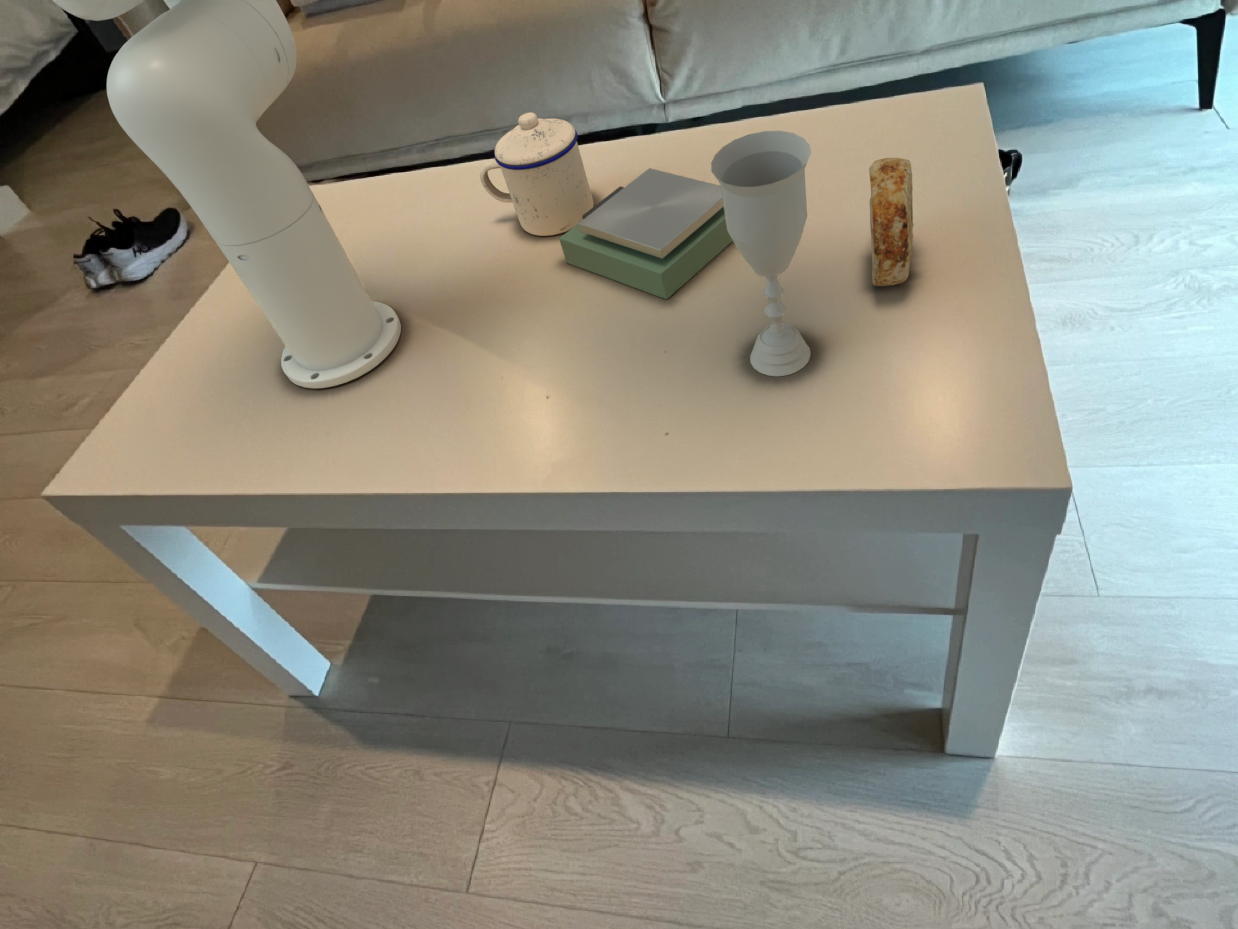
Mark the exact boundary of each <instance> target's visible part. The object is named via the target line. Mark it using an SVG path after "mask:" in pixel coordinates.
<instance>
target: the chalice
mask: <svg viewBox="0 0 1238 929" xmlns="http://www.w3.org/2000/svg"><path fill="white" fill-rule="evenodd" d="M811 154H812V150H811V145H810V143H809V142H808V141H807V140H806V139H805V137H803V136H800V135H798V134H797V133H794V132H790V131H783V130H763V131H758V132H753V133H749V134H747V135H743V136H741V137H738V138H736V139H734V140H731V141H730V142H729V143H727V144H725V145H723V146H722V147H721V148H720V149H719V150H718V151H717V152H716V153H715V154H714V157H713V158H712V160H711V162H710V168H711V170H710V171H711V173H712V175H713V176H714V177H715V178H716V180H717V181H718V183H719V185H720V186H721V191H722V198H723V205H724V212H725V219H726V226H727V231H728V233H729V234H730V236H731V238H732V240H733V241H732V242H733V243H734V245H735V247H736V249H737V250H738V252H739V254H740V255H741V257H742V258H743V259H744V261H745V262H746V263H747V265H749V267H750V268H751V269H752V270H753V272H754V274H756V275H758V276H759V277H763V278H766V285H765V288H764V289H763V295H764V296H765V297H766V298H767V301H768V305H767V306H766V307H765V309H764V314H765V316H767V317H769V319H770V325H768V326H766V327H764V328H763V330H762V331H761V332H760V333H759V334H758V335H757V337H756V340H755V343H754V344H753V348H752V350H751V353H750V355H749V360H750V364H751V366H752V368H753V369H754V370H755V371H757V372H758V373H760V374H763V375H766V376H769V377H783V376H790V375H792V374H794V373H797V372H798V371H800V370H802V369H804V368H805V366H807V364H808V363H809V362H810V359H811V355H812V354H811V348H810V347H809V345H808V344H807V342H806V340H805V339H804V338H803V336H802V334H801V333H800V331H799V330H798V329H797V328H795V327H793V326H792V325H790V324H787V323H783V316H784V315H785V313H786V312H787V310H788V309H787V307H786V305H785V304H784V303H783V302H782V301H781V297H782V295H783V294H784V291H785V289H784V287H783V286H782V285H781V283H780V281H779V280H780V279H779V275H781V274H783V273H785V272H786V271H787V269H788V268H789V266H790V264H791V263H792V260H793V258H794V256H795V253H796V251H797V249H798V247H799V245H800V242H801V239H802V235H803V233H804V229H805V225H806V222H807V218H808V204H807V203H808V202H807V190H806V189H807V187H806V171H805V170H806V167H807V164H808V162H809V159H810V156H811Z"/></svg>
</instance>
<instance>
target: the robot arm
mask: <svg viewBox="0 0 1238 929" xmlns="http://www.w3.org/2000/svg"><path fill="white" fill-rule="evenodd" d="M145 1H146V0H52V2H54V3H55V4H56V5H57V6H58V7H60V8H61V9H62V10H63V11H64V12H65V11H66V12H67V13H69V14H71V15H72V16H74V17H76V18H80V19H82V20H86V21H87V20H88V21H96V22H100V21H106V20H111V19H113V18H114V19H115V18H117V17H119V16H122V15H124V14H127V12H129V11H131V10H132V9H134V8H136V7H137V6H139V5H141V4H142V3H144V2H145ZM163 2H164V3H165V5H166V6H167V7H168V9H169V10H165V11H164V12H163V13H161V14H160V15H159V16H157V17H156V18H154V19H153V20H151V22H149V23H148V24H147V25H145V26H144V27H142V28H141V29H140V30H139V31H138V32H136V33H135V34H133V35H132V36H131V37H130V38H129V39H128V40H127V41H126V42H125V43H124V44H123V45H122V46H121V48H119V50H118V52H117V53H116V54H115V56H114V57H113V59H112V61H111V64H110V66H109V68H108V71H107V76H106V95H107V99H108V104H109V106H110V110H111V112H112V115H113V116H114V118H115V119H116V122H118V125H119V126H120V127H121V128H122V130H123V131H124V132H125V134H126V135H127V136H128V137H129V138H130V139H131V140H132V141H133V143H134V144H135V145H136V147H138V148H139V149H140V150H141V151H142V153H144V154H145V155H146V157H147V158H149V159H150V160H151V162H152V163H154V165H156V166H157V168H159V170H160V171H161V172H162V173H163V174H164V175H165V176H166V178H168V180H169V181H170V182H171V183H172V184H173V186H174V187H175V188H176V189H177V190H178V192H179V193H180V194H181V195H182V197H183V198H184V200H185V201H186V202H187V204H188V205H189V206H190V208H191V209H192V211H193V212H194V213H195V214H196V216H197V217H198V219H199V220H200V222H201V223H202V225H203V227H204V228H205V229H206V231H208V234H209V235H210V237H211V238H212V240H213V241H214V242H215V243H216V245H217V246H218V248H219V249H220V250H221V252H222V254H223V256H224V257H225V259H226V260H227V261H228V262H229V264H230V266H231V267H232V268H233V269H232V270H234V272H235V273H236V274H237V276H238V278H239V279H240V280H241V282H242V283H243V285H244V286H245V288H246V289H247V291H248V292H249V294H250V295H251V297H252V298H253V300H254V301H255V303H256V304H257V306H258V307H259V309H260V310H261V312H262V314H264V316H265V317H266V319H267V321H268V323H269V324H270V325H271V327H272V328H273V329H274V331H275V332H276V334H277V335H278V337H279V338H280V340H281V341H282V343H283V344H284V346H285V347H284V348H283V351H282V353H281V357H280V366H281V369H282V371H283V374H284V375H286V377H287V378H288V379H289V381H290V382H291V383H293V384H294V385H296V386H299V387H301V388H307V389H326V388H333V387H336V386H337V387H338V386H340V385H343V384H346V383H348V382H351V381H353V380H356V379H358V378H360V377H361V376H363V375H365V374H367V373H369V372H371V371H372V370H373V369H375V368H376V367H377V366H379V365H380V364H381V363H382V362H383V361H384V360H385V359H386V358H387V357H388V356H389V355H390V354H391V353H392V352H393V350H394V348H395V347H396V345H397V344H398V341H399V340H400V336H401V334H402V333H401V332H402V324H401V321H400V318H399V317H398V315H397V313H396V311H395V310H394V309H393V308H392V307H391V306H389V305H387V304H386V303H384V302H380V301H376V300H372V298H371V297H370V296H369V293H368V291H367V289H366V288H365V286H364V284H363V282H362V280H361V278H360V277H359V275H358V273H357V271H356V270H355V267H354V265H353V264H352V262H351V260H350V259H349V256H348V254H347V252H346V251H345V249H344V247H343V245H342V243H341V242H340V240H339V238H338V237H337V236H338V235H337V234H336V233H335V230H334V229H333V227H332V225H331V223H330V222H329V219H328V218H327V216H326V214H325V212H324V210H323V208H322V207H321V205H320V203H319V202H318V199H317V198H316V196H315V195H314V192H313V191H312V189H311V187H310V185H309V184H308V181H307V180H306V178H305V176H304V175H303V173H302V172H301V170H300V169H299V168H298V166H297V164H296V163H295V162H294V161H293V160H292V159H291V158H290V157H289V156H288V155H287V154H286V153H285V152H284V151H282V150H281V149H280V148H279V147H278V146H276V145H275V144H273V143H272V142H271V141H270V140H269V139H268V138H267V137H265V136H264V135H263V133H261V131H260V130H259V129H258V127H257V122H258V120H259V119H261V117H262V116H263V114H264V113H265V112H266V111H267V110H268V108H270V106H271V105H273V103H275V101H276V100H277V99H278V98H279V97H280V96H281V95H282V93H283V92H284V91H285V90H286V89H287V87H288V86H289V84H290V83H291V81H292V80H293V77H294V76H295V72H296V69H297V63H298V51H297V44H296V41H295V37H294V34H293V31H292V29H291V26H290V24H289V22H288V20H287V18H286V16H285V14H284V12H283V9H282V8H281V6H280V5H279V3H278V1H277V0H163Z"/></svg>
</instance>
